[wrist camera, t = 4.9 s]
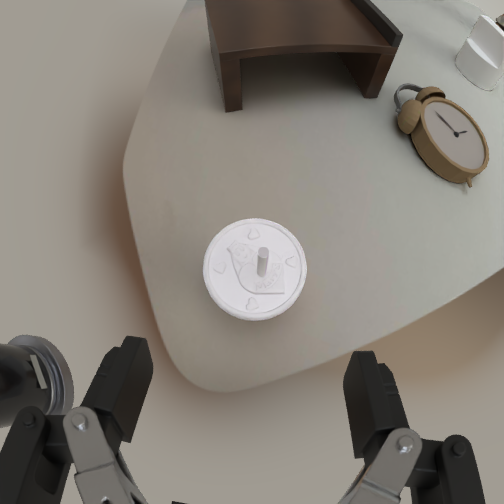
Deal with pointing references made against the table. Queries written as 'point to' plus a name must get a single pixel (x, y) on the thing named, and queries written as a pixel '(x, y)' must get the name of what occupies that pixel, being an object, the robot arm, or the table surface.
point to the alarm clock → (443, 134)
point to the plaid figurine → (500, 21)
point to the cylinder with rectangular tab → (483, 54)
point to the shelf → (300, 38)
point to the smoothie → (254, 269)
